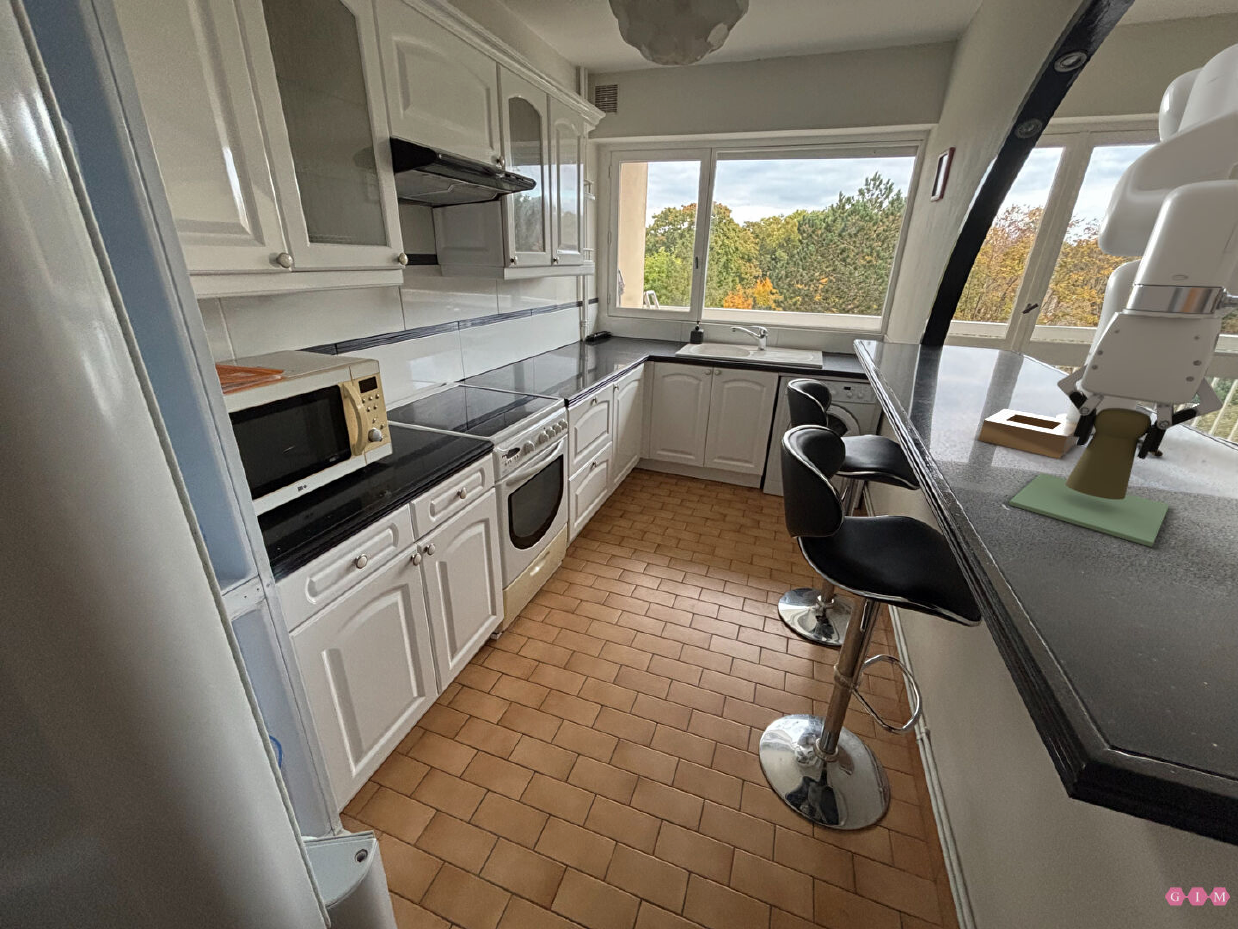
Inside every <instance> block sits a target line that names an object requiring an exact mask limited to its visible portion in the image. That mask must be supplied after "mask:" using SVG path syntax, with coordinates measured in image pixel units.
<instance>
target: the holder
mask: <svg viewBox="0 0 1238 929" xmlns="http://www.w3.org/2000/svg"><path fill="white" fill-rule="evenodd" d="M1077 424H1078V422H1072V421H1067V420H1061V419H1056V418H1055V417H1051V416H1045V415H1039V414H1035V413H1029V412H1025V411H1024V412H1022V411H1018V410H1013V409H1006V408H1004V409H1002V410H1000V411H998V412H997V413H994V414H992V415H991V416H989V417H986V418H985V419H983V421H982V426H981V428H980V432H979V433H980V434H979V436H978V439H977V441H980V442H983V443H984V442H985V443H988V444H994V445H996V446H997V445H998V446H1000V447H1006V448H1011V449H1015V450H1019V451H1023V452H1028V453H1032V454H1037V455H1041V456H1046V457H1049V458H1054V459H1058V460H1059V459H1061V458H1062V457H1063V456H1064V455H1066V453H1067V452H1069V451H1070V450H1071V448H1073V447H1074V446H1076V443H1077V441H1078V437H1073V435H1074V432H1075V429H1076V426H1077Z"/></svg>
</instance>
